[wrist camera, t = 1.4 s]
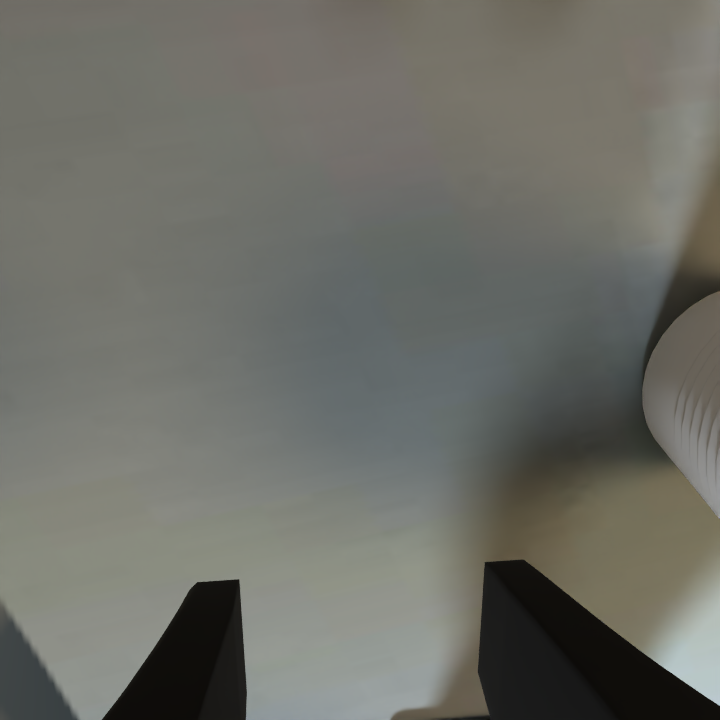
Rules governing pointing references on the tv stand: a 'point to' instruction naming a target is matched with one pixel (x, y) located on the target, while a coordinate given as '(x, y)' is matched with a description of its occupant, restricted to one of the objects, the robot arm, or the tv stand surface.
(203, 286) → the tv stand surface
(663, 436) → the cup
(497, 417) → the tv stand surface
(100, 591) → the tv stand surface
